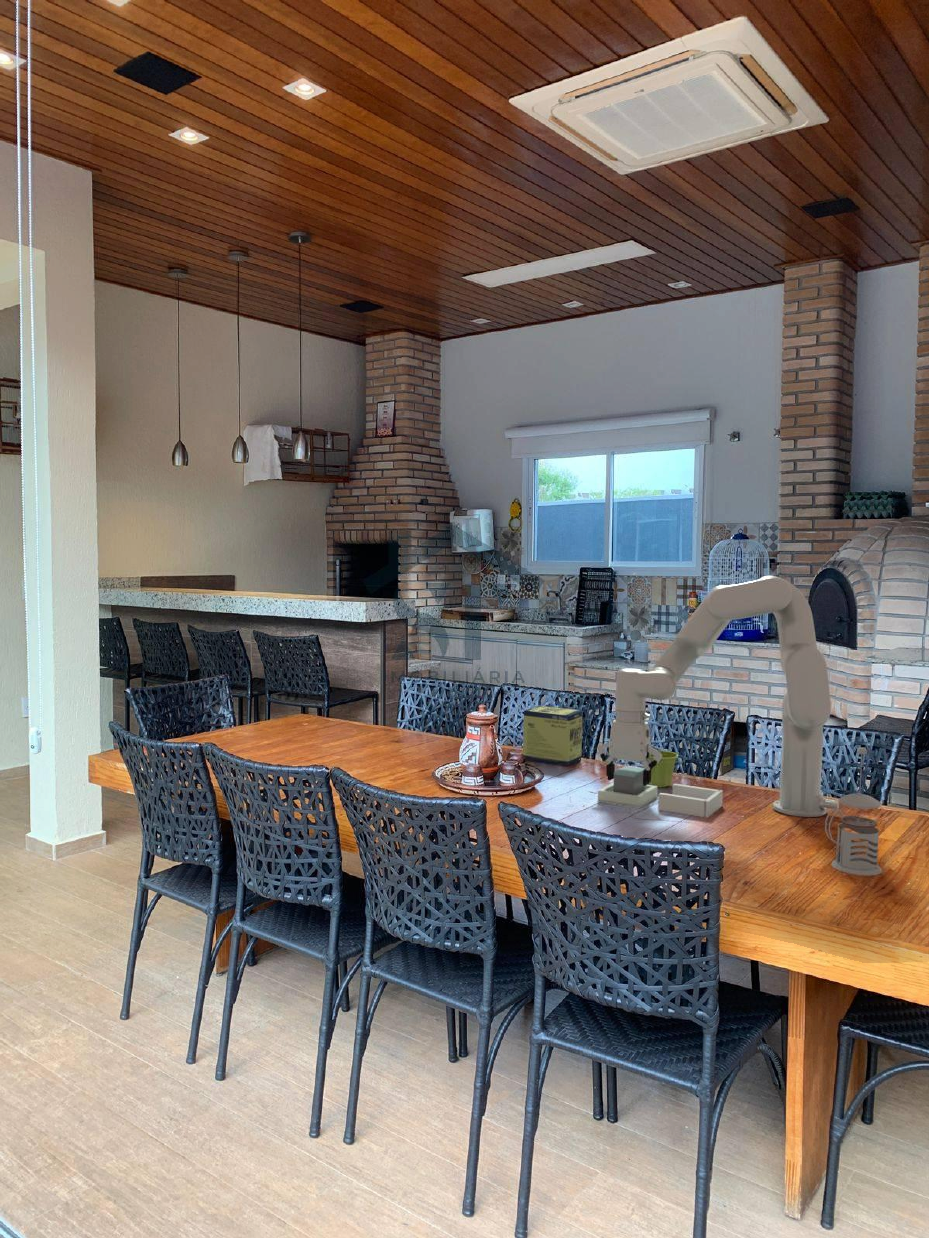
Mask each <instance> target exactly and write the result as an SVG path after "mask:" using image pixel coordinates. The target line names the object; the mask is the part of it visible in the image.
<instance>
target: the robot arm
mask: <svg viewBox="0 0 929 1238" xmlns="http://www.w3.org/2000/svg"><path fill="white" fill-rule="evenodd" d="M767 614H773V615H774V618H775V620H776V624H777V633H778V641H779V642H778V643H779V649H780V650H779V653H780V667H781V670H782V671H783V673H784V674H785V681H786V693H785V694H784V696H783V700H782V703H781V704H782V705H781V715H782V716H781V717H782V718H781V719H782V737H781V738H782V740H781V757H780V759H781V761H780V782H779V783H780V784H779V785H780V787H779V788H780V789H779V800H776V801H774V802H773V803H772V809H774V811H777V812H779V813H781V814H784V815H789V816H794V817H802V818H803V817H804V818H815V817H816V818H817V817H822V816H824V815H826V814H827V809H830V810H833V809H835V808H839V809H840V805H839V804H840V802H839V801H836V799H829V798H828V799H826V798H825V797H824V793H823V792H822V791H821V789H822V770H823V769H822V762H823V750H824V749H823V748H824V747H823V746H824V745H823V744H824V726H825V725H826V724H827V722H828V721H829V718H830V716H831V711H832V710H831V709H832V707H831V706H832V705H831V704H832V703H831V694H830V683H829V674H828V665H827V661H826V659H825V656H824V654H823V653H822V652H821V651H820V650H819V649H818V646H817V638H816V630H815V624H814V617H813V613H812V609H811V607H810V604H809V602H808V600H807V598H806V597H805V595H804V594H803V593H802V592H801V591H800V589H798V587H796V586H795V585H794V584H793V583H790V582H789V581H787V580H786V579H783V578H782V577H780V576H779V577H778V576H776V575H772V574H771V575H764V576H761V577H760V578H758V579H757V580H753V581H747V582H743V583H738V584H730V585H728V584H727V585H726V584H721V585H717V586H714V587H713V588H712V589H711V590H710V591H709V592H708V593H707V594H706V596H705V597H704V598H703V600H702V601H701V603H700V604H699V605H698V606H697V608H696V609H695V611H694V612H693V613H692V614H691V616H690V617H689V618H688V620H687V621H686V623H684V625H683V626H682V628H681V629H680V630H679V632H678V633H677V634H676V636H675V637H674V639H673V640H672V642H671V643H670V645H669V646H668V647H667V649H666V650H665V651H664V652H663V653H662V654H661V656H660V657H659V659H658V660H657V661H656V663H655V664H654V666H652V668H651V669H650V671H645V670H643V669H639V668H635V667H634V668H630V667H627V668H625V667H624V668H621V669H619V670H618V671H617V672H616V682H615V689H616V690H615V692H616V693H615V716H614V717H615V718H614V720H613V721H612V723H611V724H612V725H611V729H610V733H609V734H610V735H609V741H608V742H605V743H603V744H600V745H598V746H597V747H596V749H597V751H598V753H599V756H600V758H601V760H602V761H603V762H604V764H605V766H606V768H605V769H606V773H605V774H606V777H607V781H611V780H614V772H615V769H616V766H615V760H619V761H626V762H627V761H628V762H634V763H635V762H636V763H641V765H642V766H643V769H645V770H644V771H643V785H644V786H646V785H649V783H650V782H651V771H652V768H653V767H654V766H656V765H657V764H658V762H659V761H660V759H661V757H662V754H661V753H660V752H658V751H659V750H658V751H657V749H655V748H654V747H652V746H651V744H652V743H651V733H650V726H649V722H648V721H647V720H650V719H651V714H649V713H647V710H646V699H649V700H650V699H651V700H656V701H666V700H669V699H671V698H672V697H673V696H674V695H675V694H676V691H677V686H678V685H677V684H678V683H679V681H680V680H681V679H682V678H683V676H684V675H685V673H686V672H687V671H688V670H689V669H690V667H691V666H692V665H693V664H694V663H695V662H696V661H697V660H698V659H699V658H700V657H702V656H704V655H705V654H706V653H707V652H708V651H709V650H710V648H711V647H712V646H713V645H714V644H715V642H716V641H717V639H718V638H719V637H720V635H721V634H722V633H723V632H724V631H725V629H726V627H727V626H728V625H729V623H730V622H731V621H735V620H741V619H746V618H752V617H757V616H763V615H767ZM607 748H608V754H607V752H606V750H605V749H607ZM651 754H652V755H654V757H655V758H654V760H653V761H652V762H650V760H649V758H650V756H651ZM839 809H835V810H834V811H839Z"/></svg>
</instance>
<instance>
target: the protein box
mask: <svg viewBox="0 0 929 1238" xmlns="http://www.w3.org/2000/svg"><path fill="white" fill-rule="evenodd" d="M522 733H523V736H522V737H523V738H522V756H523V755H524V757H525V760H524V761H528V762H535V763H536V762H537V763H543V764H549V765H554V766H555V765H556V766H561V767H569V766H571V765H573V764H576V763H577V761H578V760H579V759H580V761H581V760H582V741H583V739H582V737H583V710H581V709H570V708H562V707H561V708H560V707H552V706H546V705H545V706H543V705H538V706H535V707H534V706H533V707H532V708H528V709H524V710H523V731H522ZM578 762H579V761H578Z"/></svg>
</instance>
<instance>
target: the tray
mask: <svg viewBox="0 0 929 1238" xmlns="http://www.w3.org/2000/svg"><path fill="white" fill-rule="evenodd" d="M613 787H614V781H613V782H611V783H610V784H608V785H606V786H604V787H602V788H600V789H598V790H597V802H598V801H599V803H604V802H605V803H604V804H610V805H616V804H620V805H619V806H623V805H625V806H624V807H629V808H636V809H640V808H642V807H644V806H645V805H647V804H648V803H650V802H651V801H652V800H654V799H656V798H657V797H658V787H657V786H653V785H649V784H648V785H646V786H645V791H643V792H642V793H640V794H638V795H630V794H624V793H618V792H613Z"/></svg>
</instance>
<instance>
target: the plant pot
mask: <svg viewBox="0 0 929 1238" xmlns="http://www.w3.org/2000/svg"><path fill="white" fill-rule="evenodd" d="M656 750H657V749H656ZM657 751H658V752H660V753H661V754H662V757H661V759H660V761H659V762H658V764H657V765H656V766H654V767H653V768H652V771H651V782H650V783H649V784H648V785H653V786H657V788H666V787H671V785H672V782H673V781H672V780H673V775H674V769H675V766H676V765H675V764H676V762H677V759H678V758H679V754H678V753H677V752H673V751H669V750H657ZM654 758H655V757H654V755H652V754H651V756H650V758H649V760H650V762H652V761H653V760H654Z"/></svg>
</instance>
